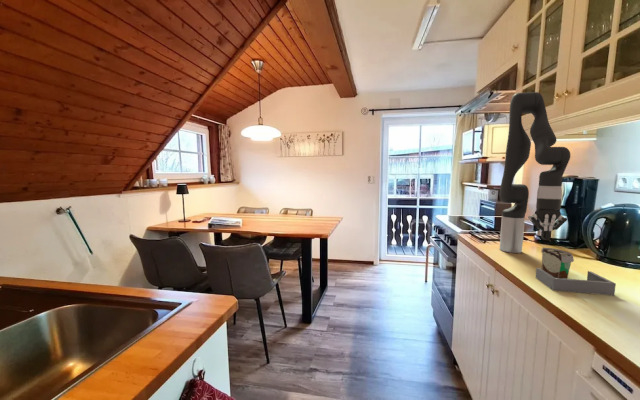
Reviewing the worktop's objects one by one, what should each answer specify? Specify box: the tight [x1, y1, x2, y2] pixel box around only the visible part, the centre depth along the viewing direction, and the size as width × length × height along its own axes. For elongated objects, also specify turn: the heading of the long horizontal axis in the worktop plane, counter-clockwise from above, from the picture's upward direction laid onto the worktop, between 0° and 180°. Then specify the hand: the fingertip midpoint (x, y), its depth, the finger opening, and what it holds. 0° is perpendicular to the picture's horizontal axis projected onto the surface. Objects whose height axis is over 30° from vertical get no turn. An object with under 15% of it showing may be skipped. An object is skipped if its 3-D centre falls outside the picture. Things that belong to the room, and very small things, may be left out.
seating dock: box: [535, 267, 616, 296], centre depth 93 cm, size 10×17×4 cm, turn 77°
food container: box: [541, 247, 575, 279], centre depth 100 cm, size 12×6×10 cm, turn 168°
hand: (545, 239), depth 109 cm, fingers closed
